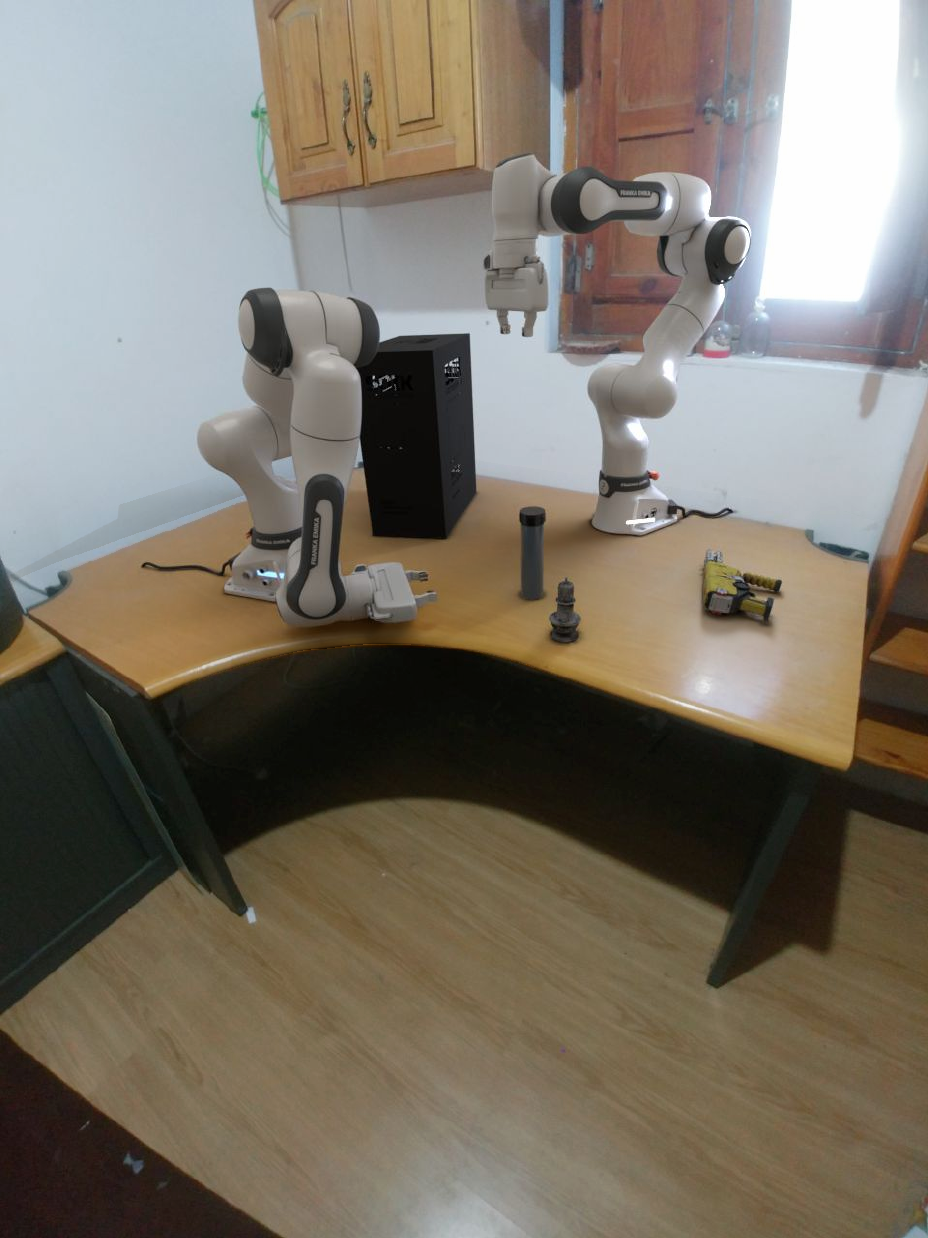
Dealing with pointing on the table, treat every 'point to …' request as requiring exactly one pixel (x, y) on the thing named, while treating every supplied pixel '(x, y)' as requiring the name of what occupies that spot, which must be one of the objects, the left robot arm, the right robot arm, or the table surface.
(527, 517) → the lid
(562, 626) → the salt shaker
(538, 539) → the grey cylindrical piece
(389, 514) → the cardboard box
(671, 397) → the right robot arm
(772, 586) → the toy gun
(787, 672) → the table surface
